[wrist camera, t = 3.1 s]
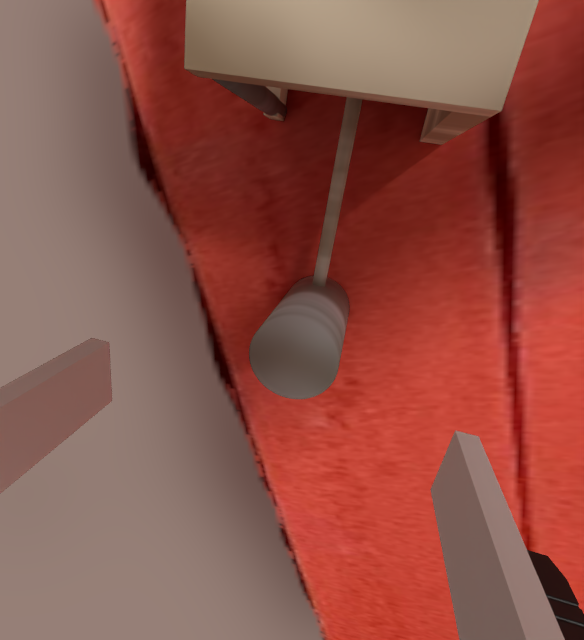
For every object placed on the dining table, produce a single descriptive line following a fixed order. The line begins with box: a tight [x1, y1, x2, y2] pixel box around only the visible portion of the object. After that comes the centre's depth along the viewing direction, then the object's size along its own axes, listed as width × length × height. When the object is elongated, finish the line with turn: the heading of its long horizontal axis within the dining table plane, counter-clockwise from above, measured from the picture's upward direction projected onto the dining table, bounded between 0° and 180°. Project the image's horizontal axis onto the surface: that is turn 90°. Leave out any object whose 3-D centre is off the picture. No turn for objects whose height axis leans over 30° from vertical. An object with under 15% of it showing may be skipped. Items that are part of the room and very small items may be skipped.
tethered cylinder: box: [249, 97, 363, 399], centre depth 17 cm, size 23×5×8 cm, turn 171°
